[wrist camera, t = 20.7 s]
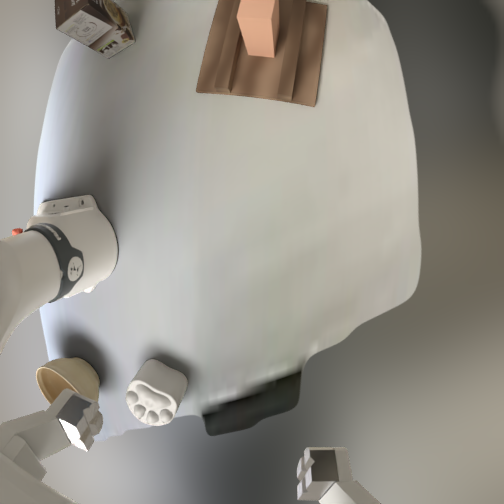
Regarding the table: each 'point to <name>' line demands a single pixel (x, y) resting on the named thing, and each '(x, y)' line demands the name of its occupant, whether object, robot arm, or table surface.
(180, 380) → the white paw shaped block
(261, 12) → the tall peach pillar
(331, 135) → the table surface
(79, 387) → the planter bowl
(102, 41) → the coffee box
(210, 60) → the walnut rack
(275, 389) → the table surface
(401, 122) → the table surface
